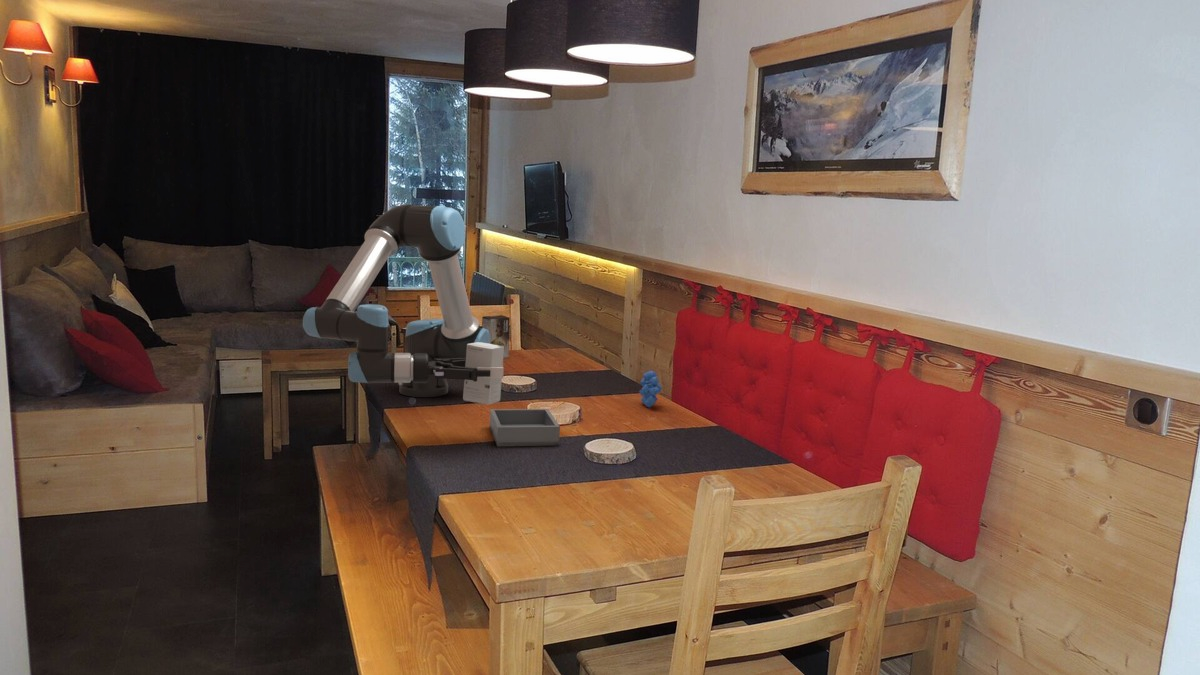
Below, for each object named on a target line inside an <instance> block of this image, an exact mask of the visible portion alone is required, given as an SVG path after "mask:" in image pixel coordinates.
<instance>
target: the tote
mask: <svg viewBox="0 0 1200 675" xmlns="http://www.w3.org/2000/svg"><path fill="white" fill-rule="evenodd" d="M560 426H561V425H560V424H559V423H558V422H557V420H556V419H555V417H554V416H553V414H552V413H551V412H550V410H549V409H548V408H503V409H502V408H500V409H496V408H493V409H492V408H490V409H489V429H490V432H491V434H492V437H493V439H494V441H495V444H496V446H497V447H533V446H534V447H541V446H559V445H560V437H561V435H560V434H561V433H560V432H561V428H560Z"/></svg>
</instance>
